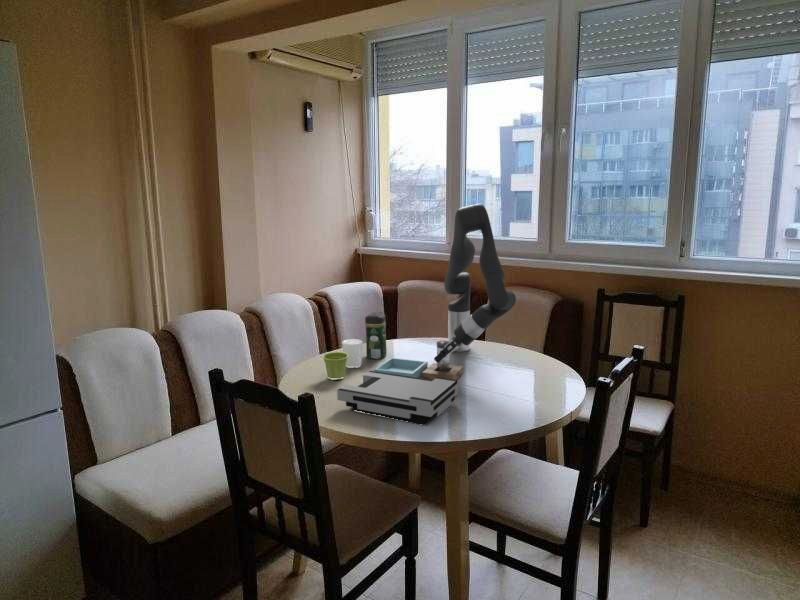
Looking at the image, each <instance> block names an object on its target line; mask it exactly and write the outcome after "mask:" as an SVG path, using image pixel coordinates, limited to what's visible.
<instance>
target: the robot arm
mask: <svg viewBox="0 0 800 600" xmlns="http://www.w3.org/2000/svg"><path fill="white" fill-rule="evenodd" d="M453 225H454V227H453V229H454V230H453V239H452V246H451V247H450V248H451V249H450V255H449V262H448V263H449V264H448V267H447V270H446V274H445V276H444V277H445V278H444V283H443V284H444V291H445V293H447V294H449V295H461V296H460V297H459V298H457V299H456V300H454V301H453V300H452V301H450V302H449V303H448V306H447V308H448V309H447V310H448V311H447V315H448V319H447V322H448V323H447V333H448V334H447V337H448V339H447V341H449V343H448V344H446V345H445V346H444V349H443V350H441V351H440V353H439V354H438V355H437V354H436V355H435V356H434V358H433V360H434V361H435V362H436V363H438V362H439V361H441V360H442V359H443V358H444V357H446V355H448V354H449V355H450V354H452V353H453V352H467V351H469V350H470V348H471V347H470V346H471V343H473V342H474V341H475V340H476V339H477V338H478V337H479V336H481V334H483V332H484V331H485V330H486V329H487V328H488V327H489V326H490V325H492V323H494V322H495V321H496V320H497V319H499V318H501V317H502V316H504V315H505V314H507V313H508V312H509V311H510V310H512V309H513V308H514V307H515V305H516V302H517V296H516V294H515V293H514V292H513V291H512V290H509V289H506V287H505V284H504V282H505V280H506V275H505V273H504V270H503V265H502V264H501V262H500V261H501V260H500V258H499V255H498V252H497V248H496V243H495V239H494V235H493V230H492V225H491V221H490V217H489V212H488V210H487V209H486V206H485V205H483V204H482V203H476V204H471V205H467V206H462V207H460V208H458V209H457V210H456V212H455V215H454V224H453ZM476 231H481V234H482V235H481V236H482V246H481V250H480V254H479V260H478V261H479V267H480V271H481V273H482V275H483V279H484V281H485V286H486V287H485V289H486V295H487V299H488V301H489V302H488V303H486V304H483V305H481V306H479V307H478V308H477V309H476V310H475V311H474V312H473V313H472V314H471V290H472V289H471V288H472V278H471V277H472V276H471V274H470V273H469V272H466V270H467V269H468V268H469V267H470V266H471V265H472V264H473V262H474V258H475V254H476V247H475V245H474V243H473V242H472V240H471V239H470V238H469V237H468V236H467V235H468V234H469V233H472V232H476ZM464 271H465V272H464ZM444 351H445V352H446V353H445V352H444Z"/></svg>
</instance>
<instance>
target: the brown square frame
mask: <svg viewBox="0 0 800 600" xmlns="http://www.w3.org/2000/svg"><path fill="white" fill-rule="evenodd" d="M463 374H464V366H463V365H455V364H454V365H453V364H449V372H439V371H437V362H436V363H435V362H433V363H431V364H430V365H429V366H428V368H427V369H426V370H424V371H423V372H422V377H421V378H423V379H430V380H434V379H436V378H437V377H441V378H448V379H454V380H457V381H458V379H459V378H460V377H461V376H462V375H463Z"/></svg>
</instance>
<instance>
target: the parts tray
mask: <svg viewBox="0 0 800 600" xmlns="http://www.w3.org/2000/svg"><path fill="white" fill-rule="evenodd" d="M428 367H429V366H428V361H425V360H415V359H414V360H413V359H408V358H407V359H406V358H398V357H390V358H389V359H387V360H386V361H384V362H382V363H381V364H380V365H379V366H377V367H376V368H374V370H373V371H376V372H383V373H390V374H396V375H403V376H410V377H417V378H422V372H423V371H424V370H426V369H427V368H428Z"/></svg>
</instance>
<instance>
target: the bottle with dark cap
mask: <svg viewBox="0 0 800 600" xmlns="http://www.w3.org/2000/svg"><path fill="white" fill-rule="evenodd" d="M448 343H449V341H448V340H438V341H436V356H437V355H438V354H439V353H440V351H441V350H443V349H444V346H445V345H446V344H448ZM444 352H445V351H444ZM445 353H446V352H445ZM436 363H437V362H436ZM449 365H450V353H449V354H448V355H446V357H444V358H443V359H442V360H441V361H439V362H438V363H437V371H439V372H449Z"/></svg>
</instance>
